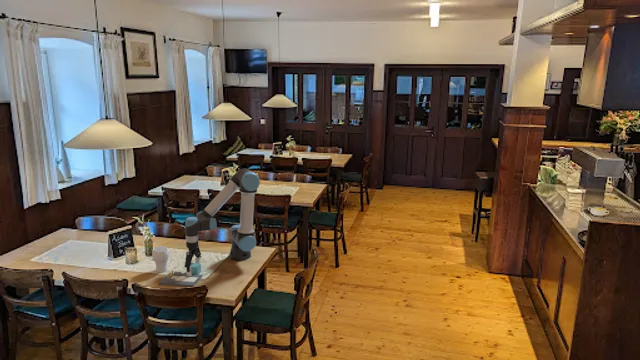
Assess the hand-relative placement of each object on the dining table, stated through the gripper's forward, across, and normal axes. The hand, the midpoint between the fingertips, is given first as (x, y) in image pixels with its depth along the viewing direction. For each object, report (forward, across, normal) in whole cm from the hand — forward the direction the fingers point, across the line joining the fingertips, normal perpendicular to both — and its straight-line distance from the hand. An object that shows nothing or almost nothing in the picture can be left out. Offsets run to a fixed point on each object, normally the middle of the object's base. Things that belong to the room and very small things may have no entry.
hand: (193, 271), depth 291 cm
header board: (+1, +11, -4) cm, 11 cm away
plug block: (+1, 0, 0) cm, 1 cm away
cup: (+2, -1, -23) cm, 23 cm away
